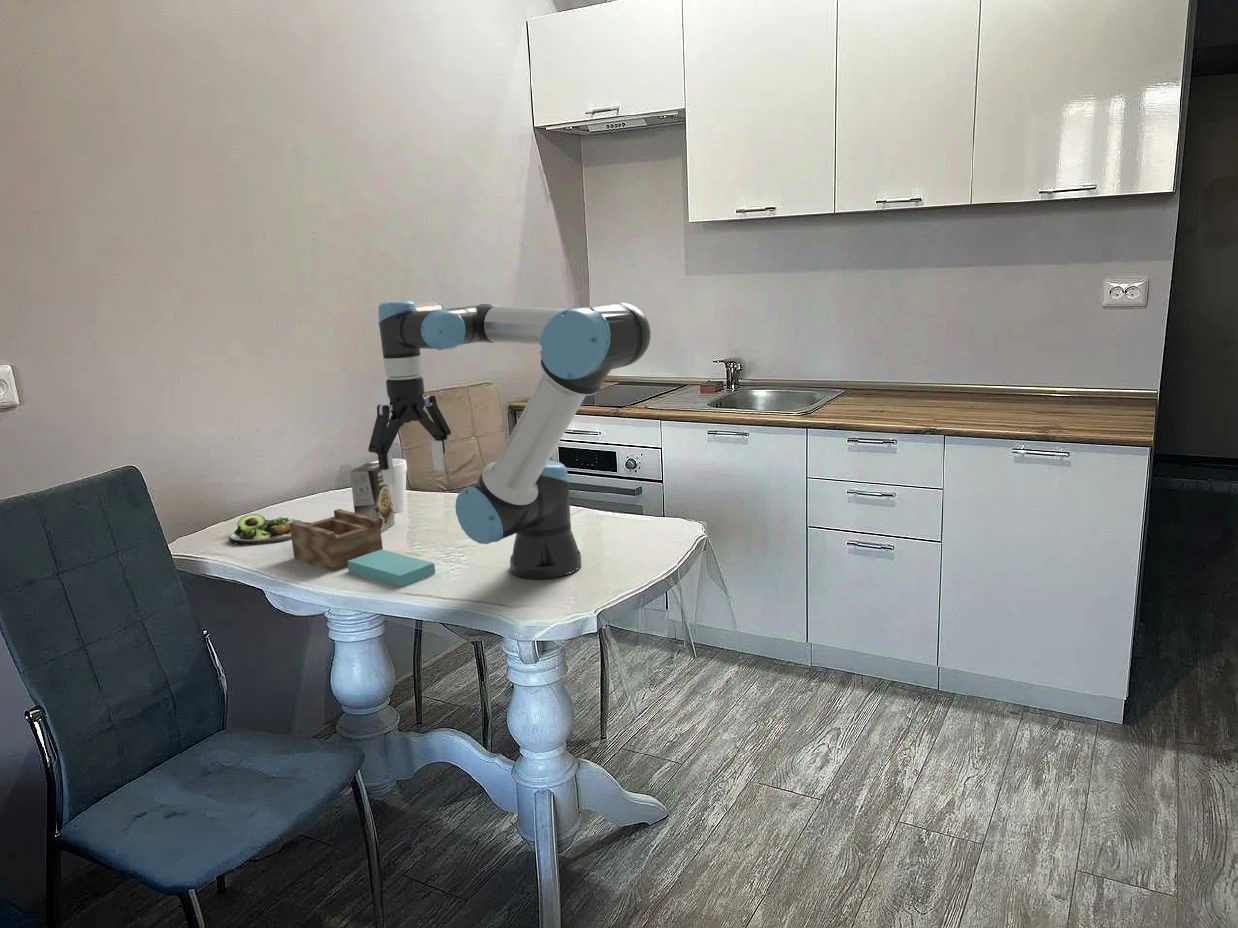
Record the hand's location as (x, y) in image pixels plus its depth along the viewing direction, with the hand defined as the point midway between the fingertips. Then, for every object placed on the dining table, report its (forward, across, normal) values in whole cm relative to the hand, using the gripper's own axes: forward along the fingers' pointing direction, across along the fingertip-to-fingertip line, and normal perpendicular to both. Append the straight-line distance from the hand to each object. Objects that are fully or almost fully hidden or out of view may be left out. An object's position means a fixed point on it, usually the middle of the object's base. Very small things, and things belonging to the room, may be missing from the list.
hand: (415, 477), depth 197 cm
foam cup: (+20, -28, -45) cm, 56 cm away
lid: (+21, +5, -5) cm, 22 cm away
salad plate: (+20, +2, -56) cm, 60 cm away
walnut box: (+20, +4, -25) cm, 32 cm away
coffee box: (+20, -14, -34) cm, 43 cm away
